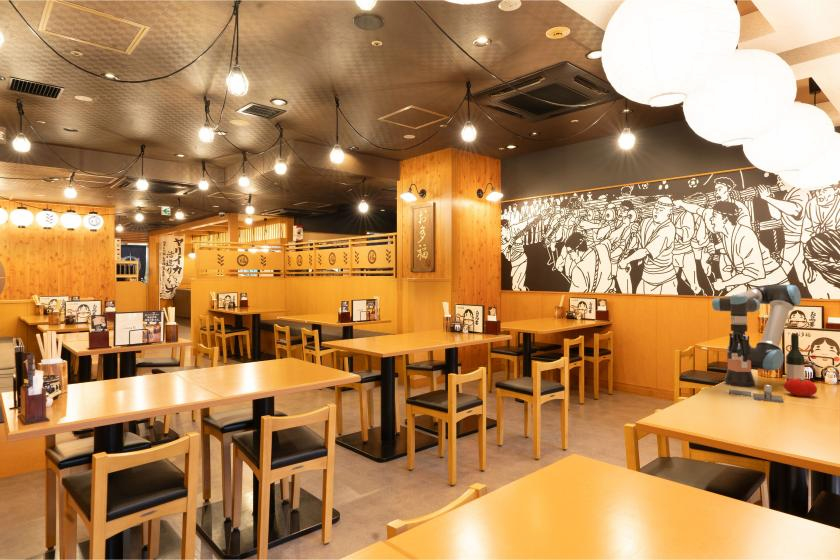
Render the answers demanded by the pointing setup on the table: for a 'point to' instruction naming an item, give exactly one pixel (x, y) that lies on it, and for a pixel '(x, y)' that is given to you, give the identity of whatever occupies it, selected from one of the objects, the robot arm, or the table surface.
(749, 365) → the orange block
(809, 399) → the table surface
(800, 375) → the wine bottle
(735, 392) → the mat
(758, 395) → the grey peg stand
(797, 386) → the tomato
